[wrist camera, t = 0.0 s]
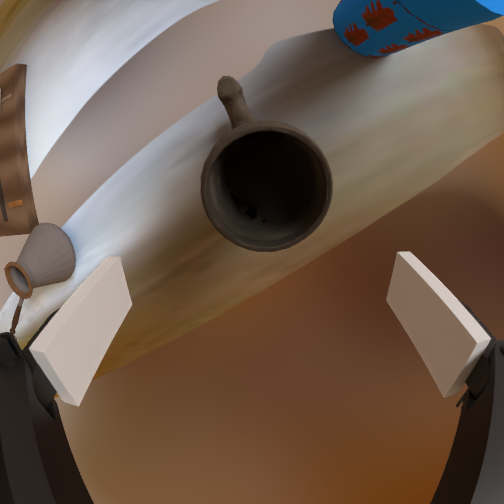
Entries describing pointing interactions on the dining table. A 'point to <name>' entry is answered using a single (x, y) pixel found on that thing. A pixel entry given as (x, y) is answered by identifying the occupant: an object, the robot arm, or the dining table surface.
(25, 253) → the coffee pot
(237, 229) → the beer stein
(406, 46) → the thermos
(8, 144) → the fader panel
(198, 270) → the dining table surface
